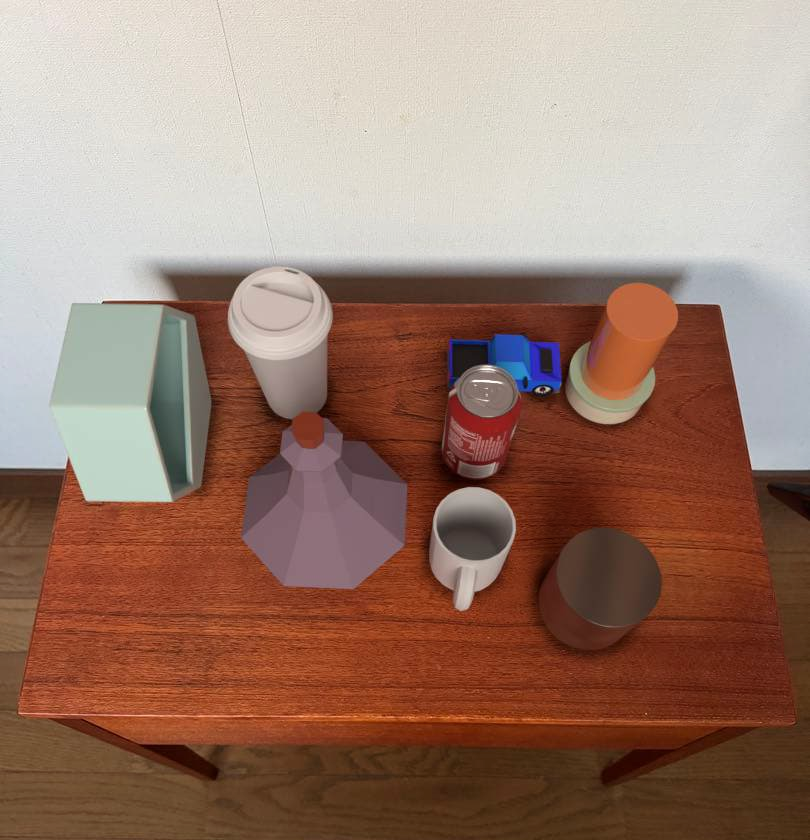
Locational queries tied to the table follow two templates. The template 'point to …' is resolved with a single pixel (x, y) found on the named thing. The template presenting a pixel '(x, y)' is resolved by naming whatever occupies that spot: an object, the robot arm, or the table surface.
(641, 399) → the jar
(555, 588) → the metal cylinder
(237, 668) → the table surface
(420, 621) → the table surface
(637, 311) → the orange cylinder
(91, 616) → the table surface
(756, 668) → the table surface
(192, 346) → the planter
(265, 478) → the flask
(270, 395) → the coffee cup
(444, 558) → the cup
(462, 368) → the toy car
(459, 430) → the soda can
